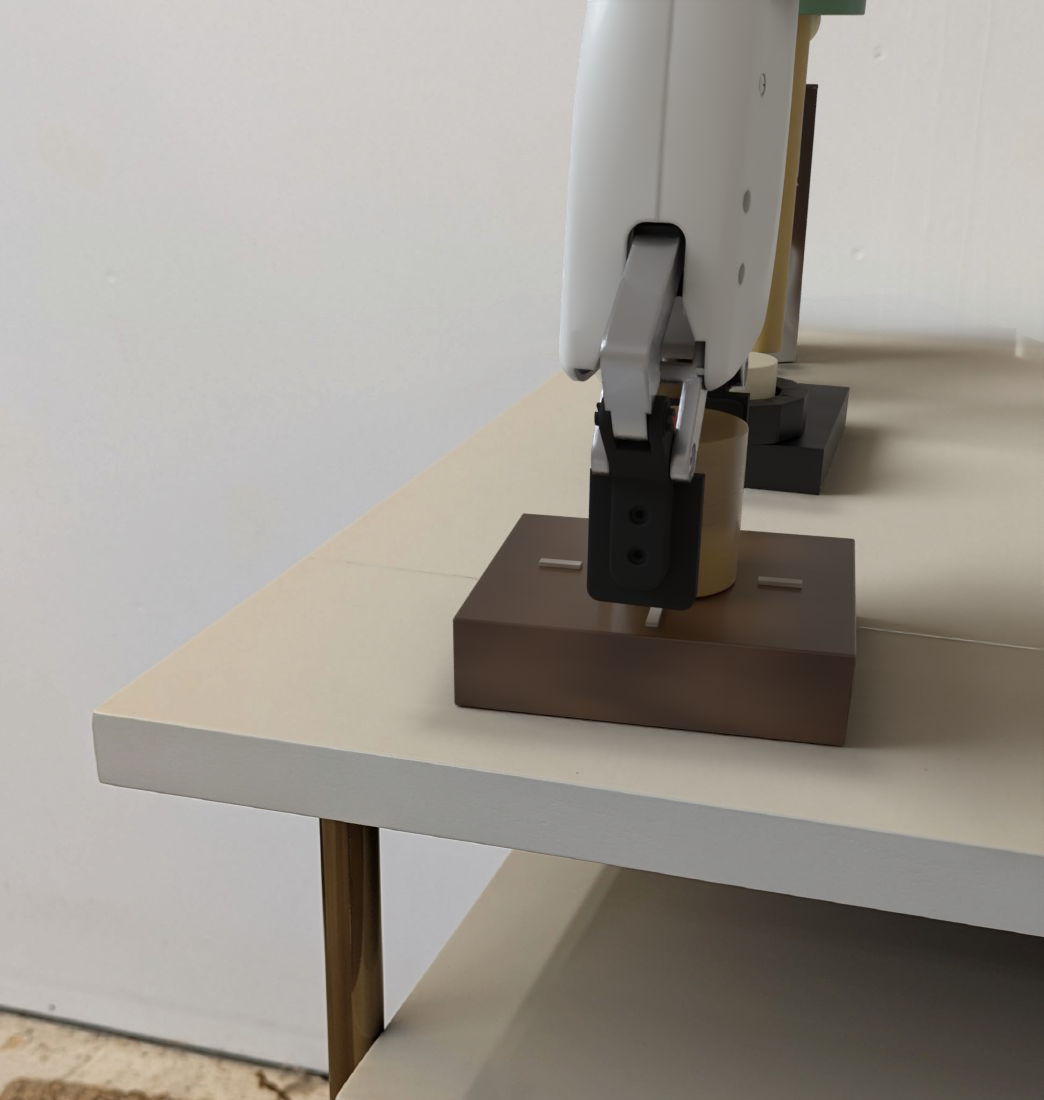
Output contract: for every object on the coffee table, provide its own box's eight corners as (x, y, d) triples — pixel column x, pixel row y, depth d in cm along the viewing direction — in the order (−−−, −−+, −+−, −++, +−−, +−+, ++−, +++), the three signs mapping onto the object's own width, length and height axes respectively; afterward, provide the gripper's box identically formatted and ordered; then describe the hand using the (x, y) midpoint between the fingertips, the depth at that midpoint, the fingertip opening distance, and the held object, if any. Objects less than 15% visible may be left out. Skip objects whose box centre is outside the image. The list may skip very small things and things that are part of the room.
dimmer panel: (845, 616, 48) (855, 533, 47) (844, 747, 39) (857, 650, 38) (522, 587, 50) (522, 508, 49) (453, 705, 42) (451, 613, 40)
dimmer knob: (609, 545, 46) (615, 392, 43) (738, 554, 45) (751, 399, 43) (593, 594, 42) (598, 429, 40) (733, 604, 41) (747, 437, 39)
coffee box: (765, 342, 89) (788, 78, 82) (797, 364, 84) (825, 83, 76) (631, 346, 88) (642, 79, 81) (655, 368, 82) (669, 83, 75)
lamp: (717, 329, 74) (747, -102, 64) (834, 337, 72) (883, -104, 63) (694, 354, 68) (724, -113, 59) (821, 363, 66) (872, -116, 57)
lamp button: (704, 384, 64) (707, 347, 63) (779, 390, 63) (783, 353, 62) (689, 402, 61) (692, 364, 60) (768, 409, 60) (772, 370, 59)
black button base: (678, 413, 73) (682, 339, 71) (845, 428, 71) (853, 352, 69) (622, 481, 62) (625, 396, 60) (817, 501, 60) (826, 413, 58)
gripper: (635, -47, 44) (616, 462, 52) (469, -82, 29) (478, 641, 37) (868, -49, 42) (812, 480, 50) (820, -88, 27) (751, 675, 35)
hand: (670, 547), depth 43 cm, fingers open, 8 cm apart
